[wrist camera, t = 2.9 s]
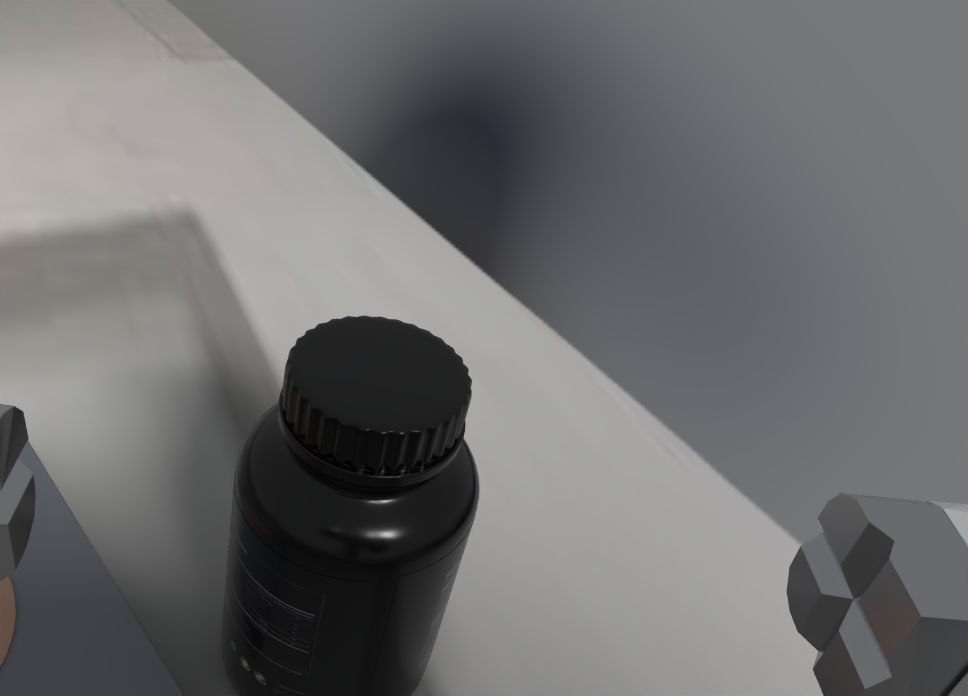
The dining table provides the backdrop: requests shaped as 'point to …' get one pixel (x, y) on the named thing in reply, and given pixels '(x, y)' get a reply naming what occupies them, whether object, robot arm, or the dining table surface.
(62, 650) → the mat
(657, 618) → the dining table surface
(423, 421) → the supplement bottle
